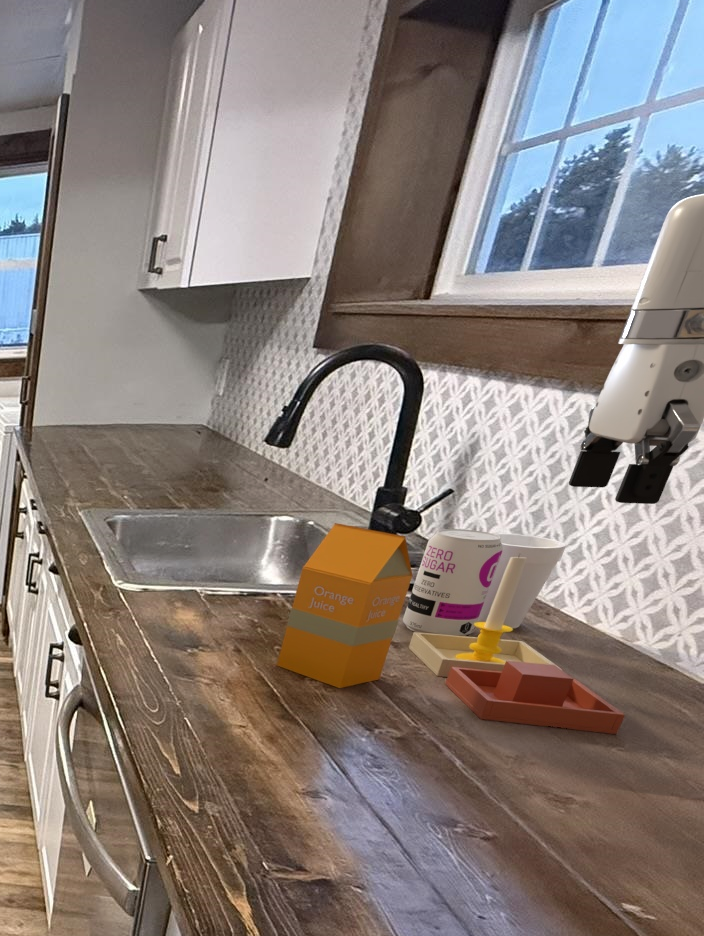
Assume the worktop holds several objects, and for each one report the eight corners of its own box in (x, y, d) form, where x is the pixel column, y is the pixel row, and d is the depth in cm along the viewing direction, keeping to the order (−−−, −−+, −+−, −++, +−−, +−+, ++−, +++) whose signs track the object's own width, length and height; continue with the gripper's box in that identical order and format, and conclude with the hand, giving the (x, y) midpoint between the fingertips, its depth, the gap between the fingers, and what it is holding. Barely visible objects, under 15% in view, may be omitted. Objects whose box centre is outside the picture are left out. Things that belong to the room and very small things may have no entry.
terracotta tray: (567, 696, 104) (574, 678, 103) (616, 734, 95) (625, 714, 94) (444, 683, 109) (451, 666, 108) (480, 719, 99) (487, 700, 98)
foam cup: (447, 622, 129) (475, 541, 124) (455, 608, 135) (482, 530, 130) (530, 636, 123) (564, 551, 118) (536, 621, 128) (568, 539, 123)
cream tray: (516, 657, 116) (523, 641, 115) (556, 688, 106) (563, 670, 105) (408, 647, 120) (413, 631, 119) (437, 676, 111) (442, 659, 110)
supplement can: (479, 631, 125) (514, 534, 120) (460, 643, 121) (496, 544, 115) (412, 617, 132) (443, 525, 126) (393, 629, 127) (423, 534, 122)
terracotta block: (540, 699, 102) (554, 665, 101) (559, 714, 99) (574, 679, 97) (493, 694, 104) (505, 660, 102) (509, 708, 100) (523, 674, 99)
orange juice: (339, 688, 108) (384, 540, 101) (275, 665, 116) (312, 525, 108) (380, 679, 111) (427, 533, 103) (315, 657, 118) (354, 519, 111)
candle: (446, 655, 116) (484, 547, 110) (491, 657, 115) (532, 548, 109) (467, 669, 111) (508, 557, 105) (514, 671, 110) (558, 558, 104)
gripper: (790, 328, 76) (707, 511, 83) (674, 326, 91) (612, 482, 97) (678, 331, 79) (607, 508, 86) (584, 328, 94) (529, 480, 100)
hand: (610, 494), depth 91 cm, fingers open, 9 cm apart
